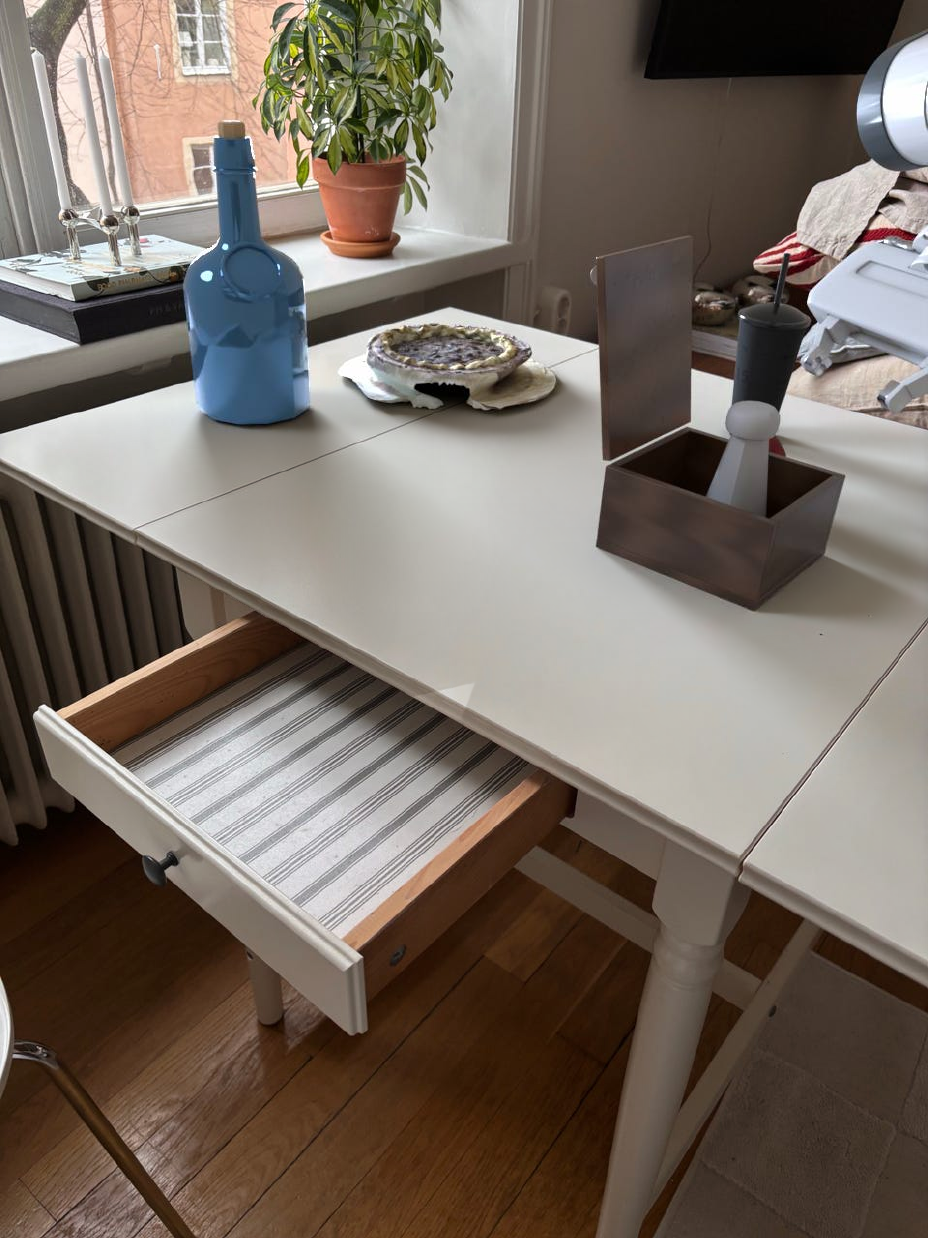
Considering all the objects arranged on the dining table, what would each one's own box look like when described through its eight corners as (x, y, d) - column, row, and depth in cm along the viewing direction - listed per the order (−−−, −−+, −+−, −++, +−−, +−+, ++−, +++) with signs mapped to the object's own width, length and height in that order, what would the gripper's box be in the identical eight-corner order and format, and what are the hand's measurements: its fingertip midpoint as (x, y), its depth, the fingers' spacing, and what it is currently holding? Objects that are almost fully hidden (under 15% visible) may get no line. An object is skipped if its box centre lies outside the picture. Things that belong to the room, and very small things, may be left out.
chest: (824, 554, 86) (846, 474, 82) (754, 611, 77) (774, 524, 73) (674, 501, 95) (686, 426, 90) (595, 546, 86) (605, 465, 82)
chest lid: (693, 235, 83) (649, 236, 86) (604, 256, 74) (558, 257, 77) (691, 421, 90) (650, 417, 93) (610, 461, 81) (567, 455, 84)
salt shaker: (691, 555, 83) (718, 412, 76) (694, 527, 88) (719, 390, 81) (760, 565, 82) (793, 421, 75) (759, 536, 87) (790, 398, 80)
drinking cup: (742, 418, 115) (777, 243, 105) (797, 437, 110) (839, 256, 100) (702, 431, 111) (735, 250, 100) (757, 452, 106) (797, 264, 95)
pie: (317, 355, 130) (316, 318, 127) (500, 339, 139) (502, 304, 137) (384, 428, 108) (383, 385, 106) (594, 403, 118) (599, 363, 115)
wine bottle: (188, 395, 115) (153, 114, 99) (296, 384, 120) (279, 114, 104) (209, 436, 104) (174, 128, 88) (327, 422, 109) (314, 128, 93)
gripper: (866, 206, 84) (752, 327, 86) (1067, 257, 68) (921, 404, 70) (892, 257, 87) (782, 372, 90) (1088, 316, 72) (949, 454, 74)
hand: (844, 387), depth 80 cm, fingers open, 8 cm apart
